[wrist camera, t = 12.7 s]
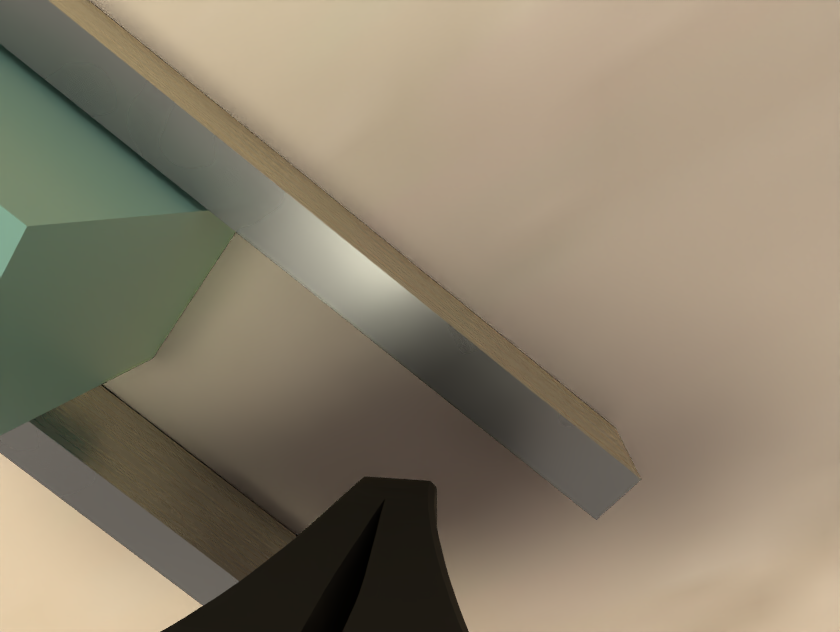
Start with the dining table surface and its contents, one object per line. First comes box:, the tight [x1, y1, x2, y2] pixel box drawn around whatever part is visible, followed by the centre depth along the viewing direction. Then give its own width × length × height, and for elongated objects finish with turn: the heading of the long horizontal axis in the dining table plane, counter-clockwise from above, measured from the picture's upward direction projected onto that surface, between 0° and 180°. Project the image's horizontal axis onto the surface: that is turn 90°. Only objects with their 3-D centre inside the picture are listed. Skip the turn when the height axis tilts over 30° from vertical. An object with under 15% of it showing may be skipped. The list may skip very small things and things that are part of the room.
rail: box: [0, 0, 641, 605], centre depth 9 cm, size 15×7×3 cm, turn 52°
